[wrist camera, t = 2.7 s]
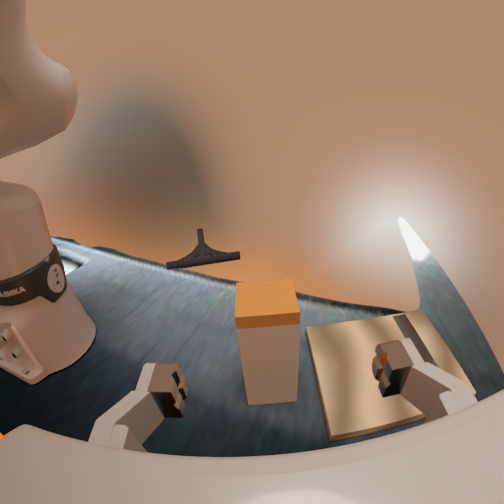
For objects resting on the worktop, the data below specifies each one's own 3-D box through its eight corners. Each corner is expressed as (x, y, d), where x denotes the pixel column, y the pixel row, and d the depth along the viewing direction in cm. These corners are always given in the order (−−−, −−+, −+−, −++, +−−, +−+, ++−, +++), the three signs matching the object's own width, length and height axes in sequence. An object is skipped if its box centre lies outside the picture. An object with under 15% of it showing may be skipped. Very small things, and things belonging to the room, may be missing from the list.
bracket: (230, 233, 71) (229, 222, 70) (240, 260, 58) (239, 247, 57) (171, 242, 69) (169, 232, 68) (168, 272, 56) (164, 260, 55)
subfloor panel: (329, 441, 23) (331, 435, 22) (305, 333, 37) (305, 326, 36) (471, 399, 22) (476, 392, 22) (419, 316, 37) (421, 309, 36)
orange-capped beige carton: (248, 404, 28) (234, 317, 22) (247, 369, 32) (236, 281, 27) (296, 401, 28) (300, 312, 22) (291, 365, 32) (291, 277, 27)
